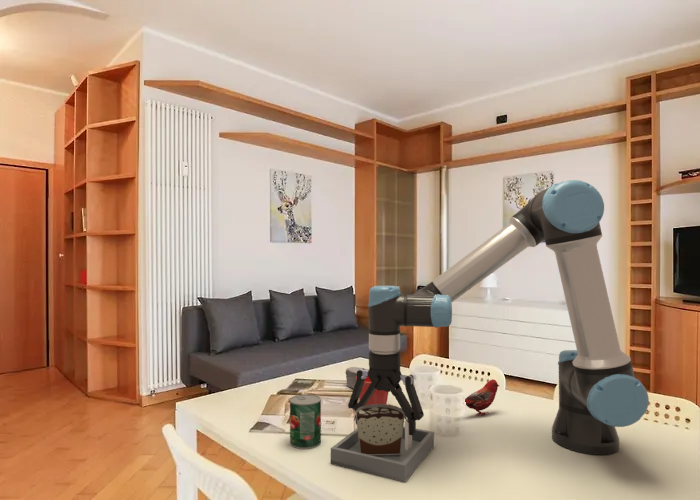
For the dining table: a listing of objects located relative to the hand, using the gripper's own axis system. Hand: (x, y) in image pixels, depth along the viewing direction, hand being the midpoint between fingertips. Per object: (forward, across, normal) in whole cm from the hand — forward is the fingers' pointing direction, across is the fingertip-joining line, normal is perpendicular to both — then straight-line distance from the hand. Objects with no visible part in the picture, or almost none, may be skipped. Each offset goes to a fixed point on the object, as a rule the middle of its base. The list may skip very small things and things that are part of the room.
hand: (384, 443), depth 107 cm
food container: (+2, +1, 0) cm, 2 cm away
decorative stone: (+3, +27, -44) cm, 52 cm away
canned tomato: (+3, +21, +3) cm, 21 cm away
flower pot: (+3, +16, -28) cm, 32 cm away
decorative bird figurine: (+3, -14, -36) cm, 39 cm away
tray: (+3, 0, 0) cm, 3 cm away
